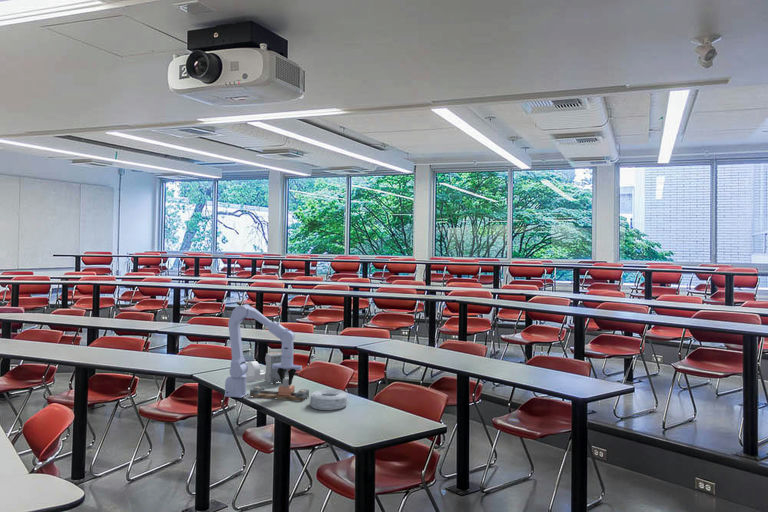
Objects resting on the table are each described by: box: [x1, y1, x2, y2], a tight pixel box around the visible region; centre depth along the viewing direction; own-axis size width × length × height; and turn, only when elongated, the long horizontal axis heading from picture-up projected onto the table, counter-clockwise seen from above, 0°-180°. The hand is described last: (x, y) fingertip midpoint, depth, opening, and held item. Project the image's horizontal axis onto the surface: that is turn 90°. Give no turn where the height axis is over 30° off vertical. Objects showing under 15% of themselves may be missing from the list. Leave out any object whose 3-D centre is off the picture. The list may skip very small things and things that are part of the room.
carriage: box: [277, 377, 296, 396], centre depth 264 cm, size 6×6×7 cm
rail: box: [249, 385, 310, 402], centre depth 264 cm, size 27×8×4 cm, turn 79°
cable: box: [309, 388, 349, 411], centre depth 252 cm, size 18×18×6 cm
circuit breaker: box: [264, 352, 290, 384], centre depth 293 cm, size 8×14×15 cm, turn 40°
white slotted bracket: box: [246, 360, 266, 383], centre depth 300 cm, size 10×18×10 cm, turn 134°
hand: (286, 384), depth 264 cm, fingers closed on carriage, 3 cm apart
